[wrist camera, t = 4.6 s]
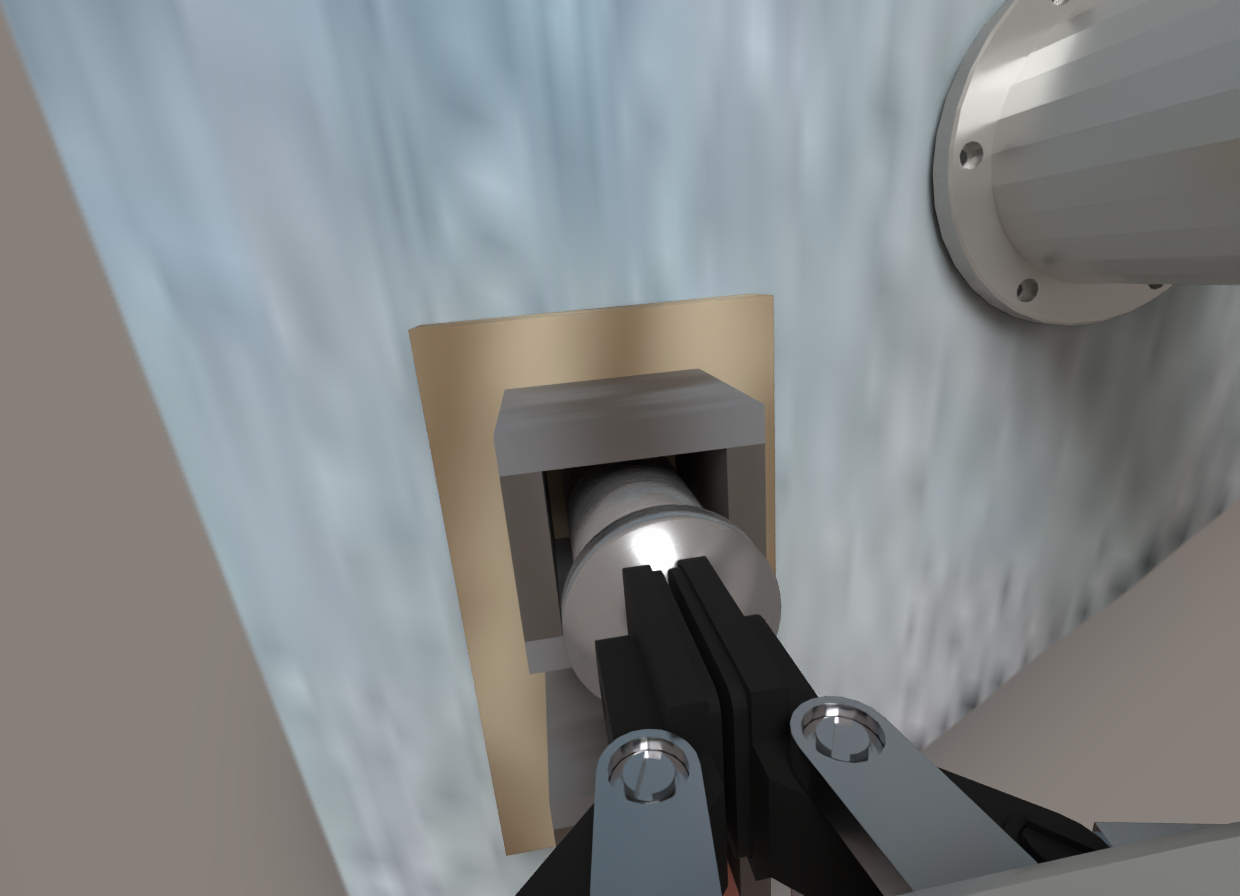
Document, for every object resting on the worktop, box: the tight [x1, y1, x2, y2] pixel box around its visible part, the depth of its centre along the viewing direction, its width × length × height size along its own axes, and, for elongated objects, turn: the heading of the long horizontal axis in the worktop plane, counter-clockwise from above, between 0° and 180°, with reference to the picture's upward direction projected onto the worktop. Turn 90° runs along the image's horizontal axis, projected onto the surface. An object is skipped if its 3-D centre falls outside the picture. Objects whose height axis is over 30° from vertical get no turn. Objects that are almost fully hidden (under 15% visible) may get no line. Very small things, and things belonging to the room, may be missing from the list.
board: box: [408, 294, 776, 896], centre depth 20 cm, size 12×22×8 cm, turn 5°
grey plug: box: [561, 456, 781, 699], centre depth 16 cm, size 4×4×9 cm
